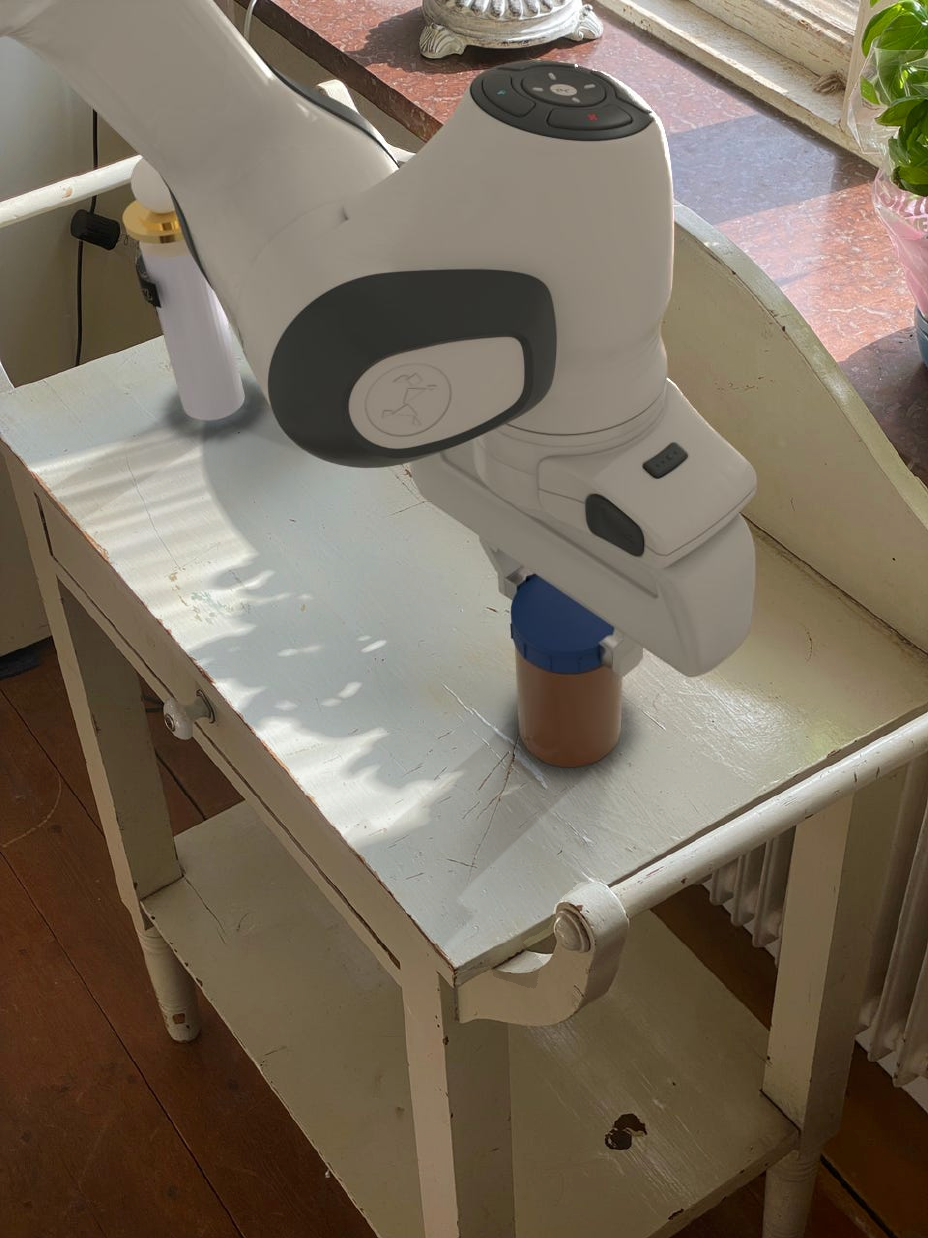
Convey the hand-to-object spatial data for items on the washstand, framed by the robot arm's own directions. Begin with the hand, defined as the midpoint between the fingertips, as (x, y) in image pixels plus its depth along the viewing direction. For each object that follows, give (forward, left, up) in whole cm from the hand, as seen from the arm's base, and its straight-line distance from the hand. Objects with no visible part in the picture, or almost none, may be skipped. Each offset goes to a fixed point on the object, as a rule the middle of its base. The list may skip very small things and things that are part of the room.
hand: (569, 628), depth 73 cm
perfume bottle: (-10, +38, -9) cm, 40 cm away
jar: (0, 0, -8) cm, 8 cm away
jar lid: (0, 0, +1) cm, 1 cm away
